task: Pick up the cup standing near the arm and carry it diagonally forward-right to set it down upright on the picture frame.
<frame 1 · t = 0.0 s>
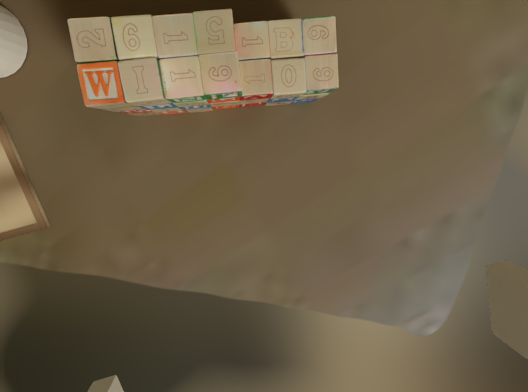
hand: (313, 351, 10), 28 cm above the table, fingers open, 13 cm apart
stack of blocks: (223, 82, 35), on the table
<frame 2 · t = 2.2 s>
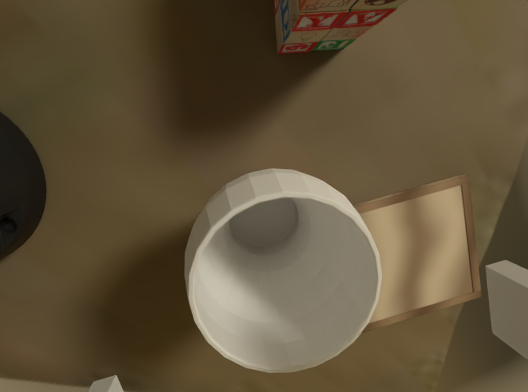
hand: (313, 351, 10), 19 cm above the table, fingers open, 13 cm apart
cup: (260, 210, 29), on the table
picture frame: (408, 254, 31), on the table
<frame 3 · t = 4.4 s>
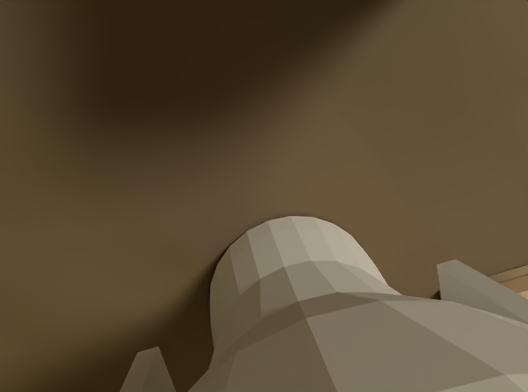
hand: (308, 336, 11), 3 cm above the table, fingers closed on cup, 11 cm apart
cup: (292, 292, 14), on the table, touching gripper
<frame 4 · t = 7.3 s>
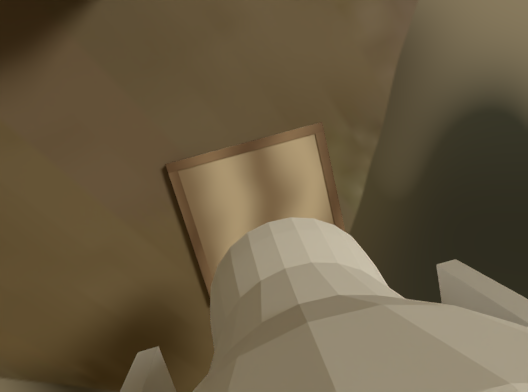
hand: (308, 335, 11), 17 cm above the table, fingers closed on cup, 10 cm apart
cup: (292, 294, 14), point 14 cm above the table, touching gripper
picture frame: (264, 216, 27), on the table
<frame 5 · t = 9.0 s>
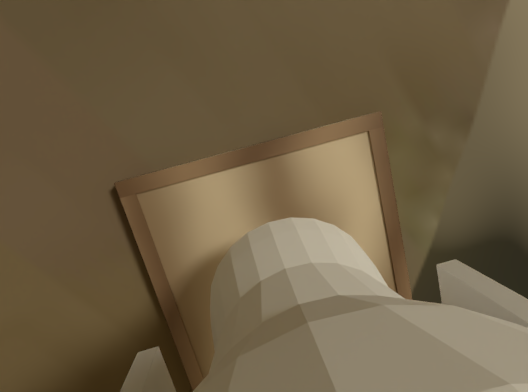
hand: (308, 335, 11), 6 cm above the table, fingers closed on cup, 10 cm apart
cup: (293, 294, 14), point 3 cm above the table, touching gripper
picture frame: (281, 264, 17), on the table
when the fingers open (5 cm above the table, at t = 10.2 s): cup drops 2 cm, resting on picture frame.
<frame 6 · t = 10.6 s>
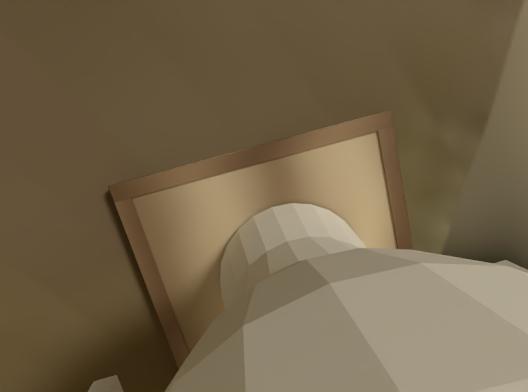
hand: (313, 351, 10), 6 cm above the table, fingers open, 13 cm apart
cup: (292, 271, 16), resting on picture frame
picture frame: (284, 271, 16), on the table
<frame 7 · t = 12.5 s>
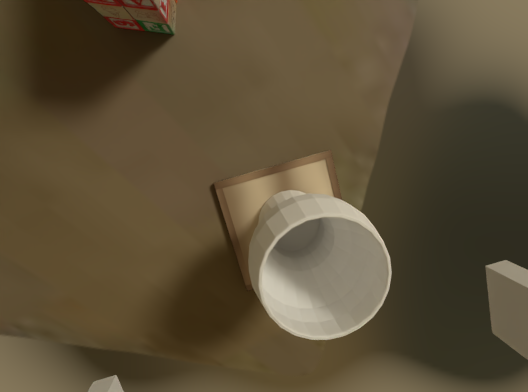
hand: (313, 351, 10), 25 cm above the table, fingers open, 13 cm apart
cup: (290, 221, 35), resting on picture frame
picture frame: (286, 221, 36), on the table
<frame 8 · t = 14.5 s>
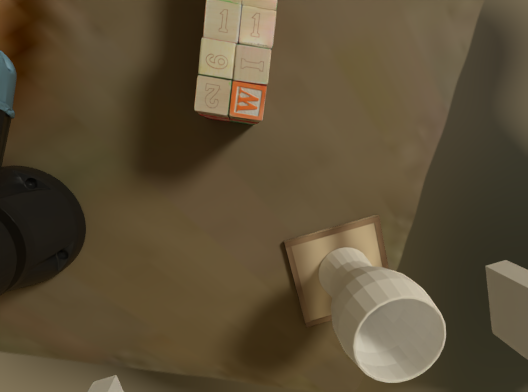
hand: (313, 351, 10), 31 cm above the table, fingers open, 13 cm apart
cup: (343, 271, 43), resting on picture frame
stack of blocks: (241, 35, 36), on the table
picture frame: (340, 271, 44), on the table
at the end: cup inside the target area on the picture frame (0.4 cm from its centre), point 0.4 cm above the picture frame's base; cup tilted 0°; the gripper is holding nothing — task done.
